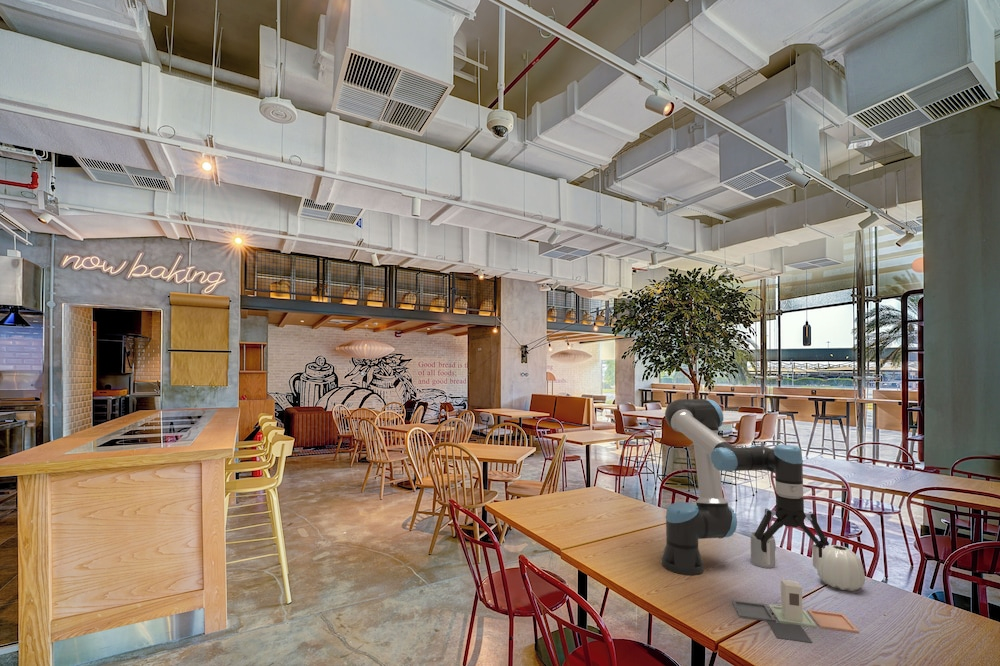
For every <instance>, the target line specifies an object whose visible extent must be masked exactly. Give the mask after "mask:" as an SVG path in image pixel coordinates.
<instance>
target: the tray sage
mask: <svg viewBox="0 0 1000 666" xmlns="http://www.w3.org/2000/svg"><path fill="white" fill-rule="evenodd" d="M768 608H769V610H770V611H771V613H772V615H773V616H774V618H775V619H776V621H778V623H785V624H793V625H800V626H801V627H806V628H816V629H817V628H818V627H817V626H818V624H817V623H816V622H815V621H814V619H813V618H812V617H811V616H810V614H809V613H808V612H807V611H806V610H805V609H804V608H803V621H796V620H788V619H786V618H785V617H784V615H783V614H782V612H781V605H775V604H768Z"/></svg>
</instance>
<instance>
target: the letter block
mask: <svg viewBox="0 0 1000 666" xmlns="http://www.w3.org/2000/svg"><path fill="white" fill-rule="evenodd" d="M780 606H781V612H782V614H783V615H784V617H785V618H786V619H788V620H796V621H803V609H804V608H803V587H802V585H800V583H799V582H798V581H796V580H790V579H789V580H788V579H780Z"/></svg>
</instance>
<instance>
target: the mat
mask: <svg viewBox="0 0 1000 666" xmlns="http://www.w3.org/2000/svg"><path fill="white" fill-rule="evenodd" d="M766 622H767V624H768V626H769V627H770V629H771V631H772V632H773V634H774V636H775V637H776V639H780V640H786V641H793V642H801V643H809V644H813V641H812V640H811V637H810V636H809V635H808V634H807V632H806V631H805V630H804V628H803V626H800V625H793V624H785V623H779V622H777V621H776V622H770V621H766Z"/></svg>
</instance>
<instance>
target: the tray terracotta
mask: <svg viewBox="0 0 1000 666" xmlns="http://www.w3.org/2000/svg"><path fill="white" fill-rule="evenodd" d="M806 612H807V614H808V615H809V616H810V618H811V619H812V620H813V621H814V623H815V624H816V625H817V626H818V627H819V628H820V629H823V630H832V631H839V632H847V633H854V634H855V633H856V634H860V630H859V629H858V628H857V627H856V626H855V625H854V624H853V623H852V622H851V620H849V619H848V617H847V616H846V615H845V614H844V613H838V612H832V611H822V610H815V609H807V611H806Z"/></svg>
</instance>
